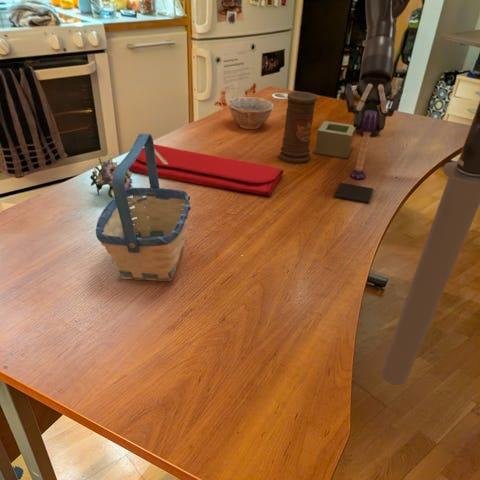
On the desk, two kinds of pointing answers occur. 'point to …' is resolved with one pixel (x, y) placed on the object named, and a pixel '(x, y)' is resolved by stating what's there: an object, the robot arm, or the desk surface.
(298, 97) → the container
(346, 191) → the mat
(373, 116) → the toy lamp
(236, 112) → the bowl
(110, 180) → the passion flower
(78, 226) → the desk surface
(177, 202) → the basket
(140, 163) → the dish drying mat
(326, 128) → the holder
